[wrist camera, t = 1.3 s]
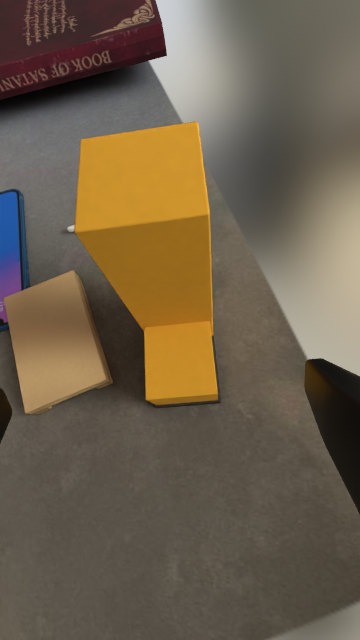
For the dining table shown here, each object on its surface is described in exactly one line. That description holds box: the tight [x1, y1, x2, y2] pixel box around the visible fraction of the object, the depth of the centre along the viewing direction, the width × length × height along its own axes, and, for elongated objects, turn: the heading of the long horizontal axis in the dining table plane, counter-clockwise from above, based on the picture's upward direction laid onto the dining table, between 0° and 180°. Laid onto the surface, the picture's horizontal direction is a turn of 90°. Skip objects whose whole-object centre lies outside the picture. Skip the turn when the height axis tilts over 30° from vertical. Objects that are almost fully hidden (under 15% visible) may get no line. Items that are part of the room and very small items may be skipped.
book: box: [0, 0, 167, 99], centre depth 35 cm, size 28×21×5 cm
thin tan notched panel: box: [4, 270, 113, 415], centre depth 23 cm, size 10×6×2 cm, turn 22°
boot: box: [74, 122, 221, 408], centre depth 17 cm, size 9×5×14 cm, turn 4°
